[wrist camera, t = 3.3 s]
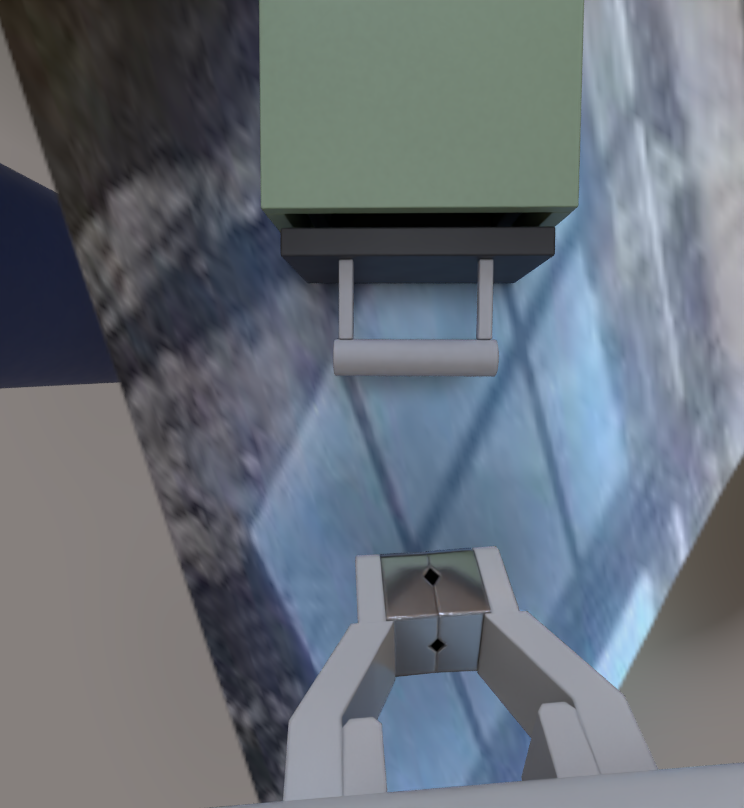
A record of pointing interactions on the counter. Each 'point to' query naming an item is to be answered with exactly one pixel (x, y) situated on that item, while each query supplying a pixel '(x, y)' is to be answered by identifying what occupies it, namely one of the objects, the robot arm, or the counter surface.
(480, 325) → the drawer with bar handle
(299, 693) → the counter surface
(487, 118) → the drawer cabinet
